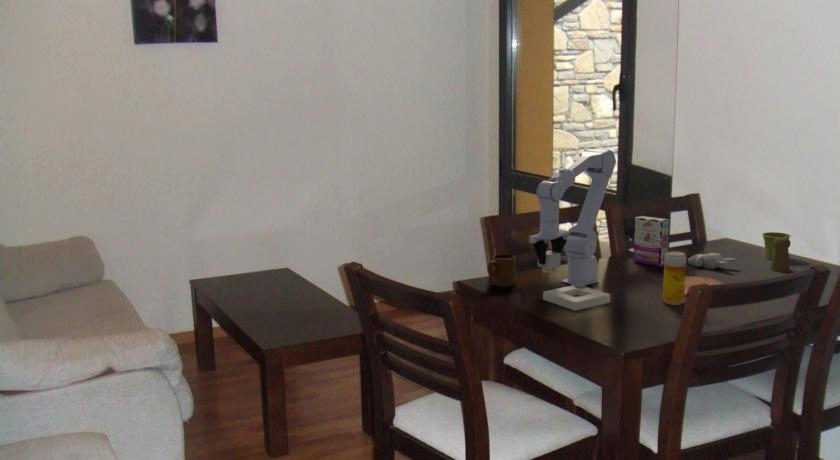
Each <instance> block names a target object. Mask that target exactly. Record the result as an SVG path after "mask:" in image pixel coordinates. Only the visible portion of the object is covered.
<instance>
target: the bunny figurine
mask: <svg viewBox="0 0 840 460" xmlns="http://www.w3.org/2000/svg"><path fill="white" fill-rule="evenodd" d="M736 261H737V260H736V258H735V257H732V258H729V257H727V258H722V256H721V254H720V253H718V252H710V253H705V254H702V253H698V254H694V255H692V256H691V257H688V258H687V263H688V264H690V265H691V266H692V267H695V268H697V267H702V268H704V269H706V270H707V269H708V270H715V269H718V268H719V267H721V266H728V265H729V263H736Z"/></svg>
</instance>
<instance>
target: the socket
mask: <svg viewBox="0 0 840 460" xmlns="http://www.w3.org/2000/svg"><path fill="white" fill-rule="evenodd" d="M542 300H543V301H547V302H549V303H552V304H556V305H558V306H560V307H563V308H567V309H569V310H572V311H579V310H584V309H589V308H592V307H596V306H601V305H605V304H609V303H611V294H610V293H607V292H603V291H600V290H597V289H594V288H590V287H588V286H587V285H583V284H580V283H578V284H574V285H568V286H567V285H566V286H564V287H559V288H554V289H550V290H543V291H542Z"/></svg>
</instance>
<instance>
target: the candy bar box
mask: <svg viewBox="0 0 840 460" xmlns="http://www.w3.org/2000/svg"><path fill="white" fill-rule="evenodd" d="M669 230H670V219H669V218H663V217H662V218H661V217H654V216H646V215H639V216H635V217H634V237H633V238H634V239H633V263H636V262H637V264H642V263H643V264H642V265H647V264H648V266H654V267H659V268H661V267H664V260H665V255H666V253H667V252H669Z"/></svg>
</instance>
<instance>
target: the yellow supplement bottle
mask: <svg viewBox="0 0 840 460" xmlns="http://www.w3.org/2000/svg"><path fill="white" fill-rule="evenodd" d="M686 267H687V256H686V254H685V252H682V251H668V252H667V253H666V255H665V260H664V266H663V287H662V288H663V289H662V300H663V301H664V304H666V305H671V306H679V305H682V304H683V303H684V302H685V292H686V291H685V290H686V273H687V272H686V271H687V268H686Z"/></svg>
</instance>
